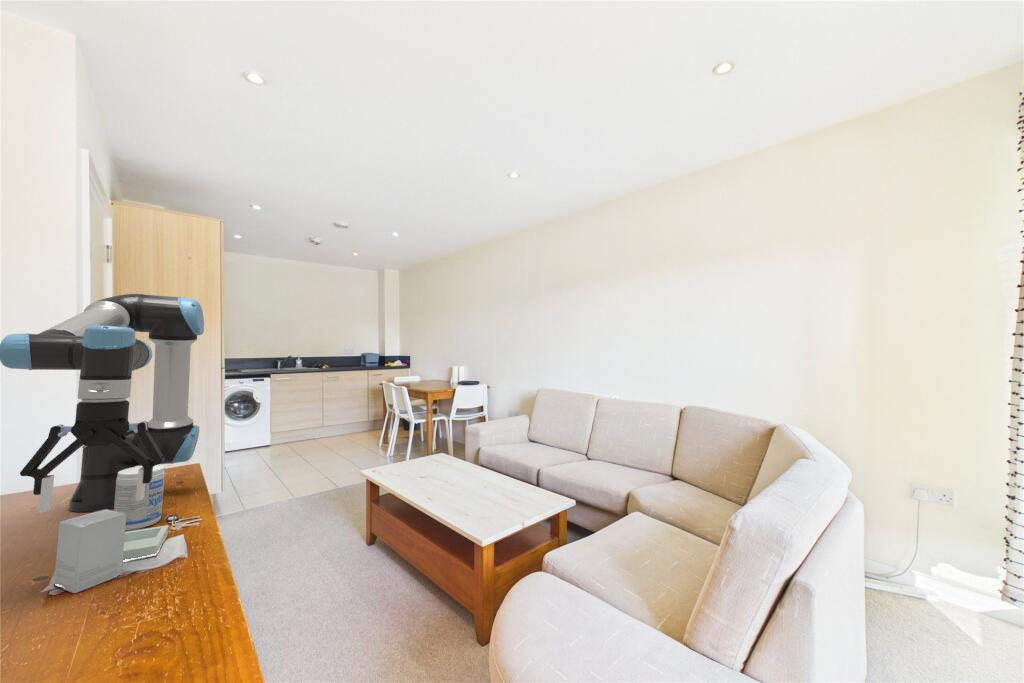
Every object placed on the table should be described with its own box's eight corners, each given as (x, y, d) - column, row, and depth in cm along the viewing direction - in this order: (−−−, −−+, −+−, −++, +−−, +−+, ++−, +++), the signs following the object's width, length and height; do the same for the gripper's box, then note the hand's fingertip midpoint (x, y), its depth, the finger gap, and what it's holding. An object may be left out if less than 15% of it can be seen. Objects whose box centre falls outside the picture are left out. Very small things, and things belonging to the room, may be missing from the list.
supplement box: (123, 575, 80) (128, 513, 81) (73, 595, 73) (79, 527, 74) (102, 567, 83) (107, 507, 83) (51, 586, 76) (57, 520, 76)
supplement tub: (156, 527, 102) (161, 471, 103) (106, 535, 97) (111, 476, 98) (164, 514, 110) (168, 462, 111) (118, 521, 105) (122, 467, 106)
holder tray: (99, 546, 91) (100, 535, 92) (168, 535, 98) (168, 525, 98) (77, 571, 81) (78, 558, 81) (156, 556, 88) (157, 545, 88)
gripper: (0, 403, 70) (-13, 523, 69) (179, 400, 83) (171, 500, 82) (22, 400, 76) (10, 509, 75) (185, 397, 90) (178, 490, 88)
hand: (94, 504), depth 78 cm, fingers open, 13 cm apart
